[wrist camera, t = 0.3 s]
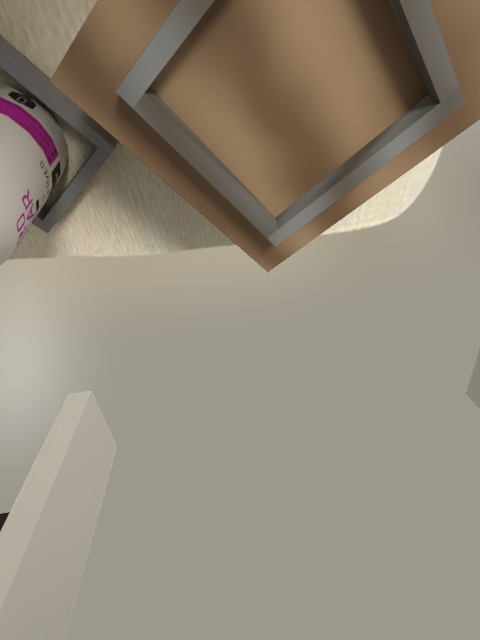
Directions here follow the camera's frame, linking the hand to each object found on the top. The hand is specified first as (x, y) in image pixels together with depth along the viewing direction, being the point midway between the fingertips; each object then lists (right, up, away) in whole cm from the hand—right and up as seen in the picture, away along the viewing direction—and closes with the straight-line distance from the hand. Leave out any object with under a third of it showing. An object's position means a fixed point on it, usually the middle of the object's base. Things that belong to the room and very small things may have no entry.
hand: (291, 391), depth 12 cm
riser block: (0, +24, +15) cm, 28 cm away
